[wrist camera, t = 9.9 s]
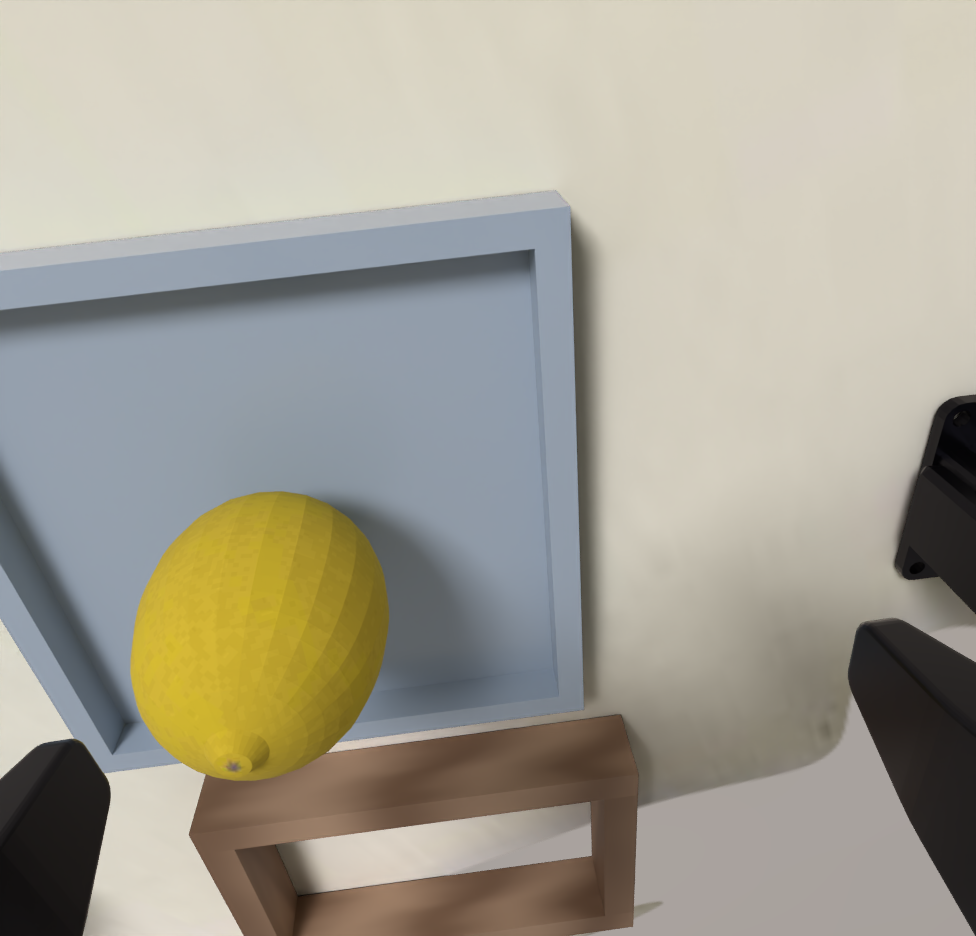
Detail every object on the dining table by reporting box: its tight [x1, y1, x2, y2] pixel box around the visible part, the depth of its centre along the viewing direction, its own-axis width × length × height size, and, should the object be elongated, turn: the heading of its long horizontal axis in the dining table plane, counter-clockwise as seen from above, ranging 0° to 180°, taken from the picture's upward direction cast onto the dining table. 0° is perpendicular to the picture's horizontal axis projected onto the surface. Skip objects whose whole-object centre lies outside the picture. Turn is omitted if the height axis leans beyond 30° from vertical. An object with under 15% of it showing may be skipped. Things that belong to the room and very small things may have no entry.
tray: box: [0, 190, 584, 773], centre depth 20 cm, size 16×16×2 cm
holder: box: [189, 715, 639, 936], centre depth 28 cm, size 15×10×2 cm
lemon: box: [130, 491, 389, 781], centre depth 16 cm, size 6×6×8 cm
